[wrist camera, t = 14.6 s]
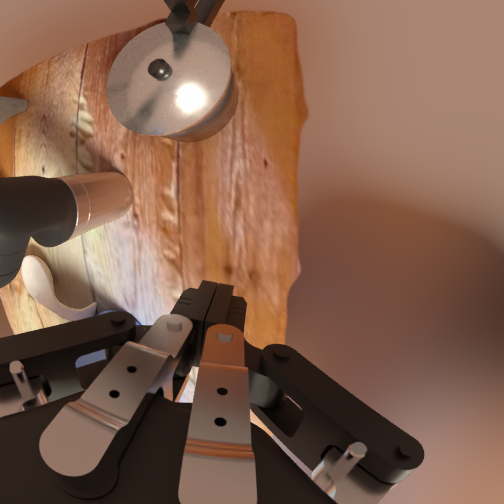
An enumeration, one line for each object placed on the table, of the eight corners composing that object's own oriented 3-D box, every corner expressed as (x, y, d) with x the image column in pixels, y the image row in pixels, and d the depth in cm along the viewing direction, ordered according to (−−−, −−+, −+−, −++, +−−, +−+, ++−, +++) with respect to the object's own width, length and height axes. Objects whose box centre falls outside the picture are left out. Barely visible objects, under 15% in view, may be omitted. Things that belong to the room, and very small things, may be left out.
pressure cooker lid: (205, 150, 31) (188, 145, 24) (96, 124, 30) (62, 118, 23) (270, -8, 24) (272, -40, 16) (163, -19, 23) (146, -46, 15)
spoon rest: (28, 282, 54) (11, 292, 47) (30, 243, 51) (11, 251, 44) (94, 326, 56) (79, 342, 49) (101, 287, 53) (83, 302, 46)
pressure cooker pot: (219, 153, 44) (202, 148, 32) (137, 130, 43) (99, 121, 31) (267, 36, 37) (268, -2, 25) (185, 19, 36) (165, -15, 24)
